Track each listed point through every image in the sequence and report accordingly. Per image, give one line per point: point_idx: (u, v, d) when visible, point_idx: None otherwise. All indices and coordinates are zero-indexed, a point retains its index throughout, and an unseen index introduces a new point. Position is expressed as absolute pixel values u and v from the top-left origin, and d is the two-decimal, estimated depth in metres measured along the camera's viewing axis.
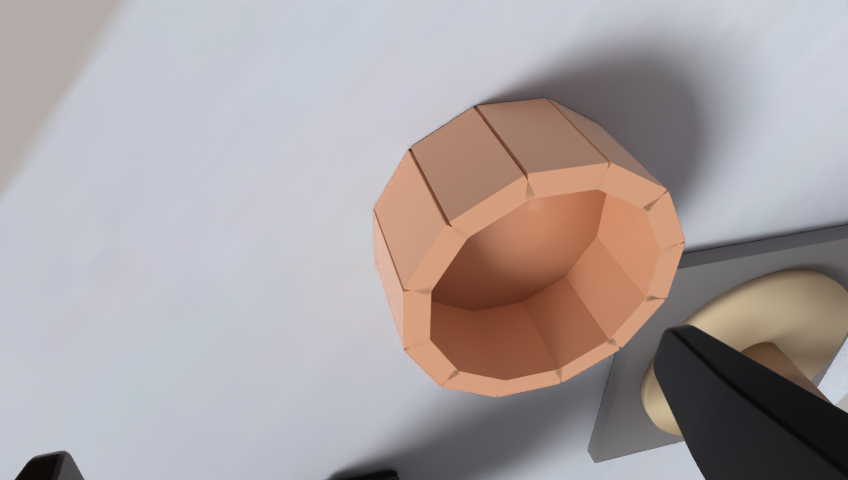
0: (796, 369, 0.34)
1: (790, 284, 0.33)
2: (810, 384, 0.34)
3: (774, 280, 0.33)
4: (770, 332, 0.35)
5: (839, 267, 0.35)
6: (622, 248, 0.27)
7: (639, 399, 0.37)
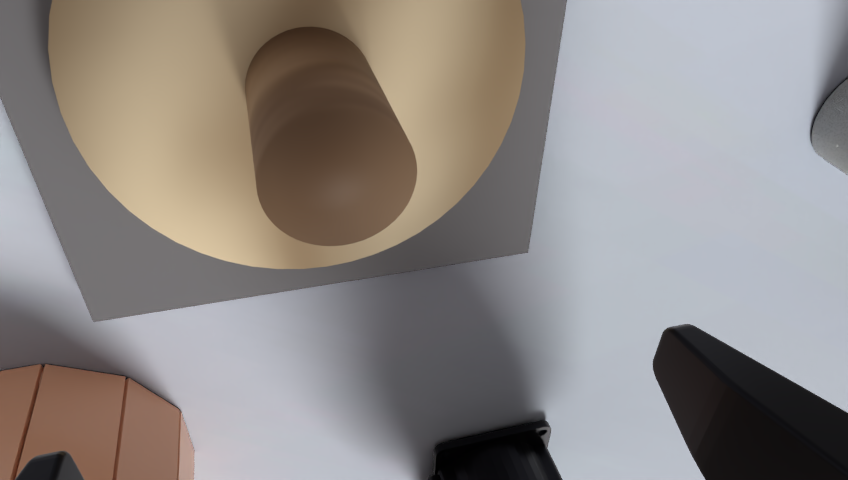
0: (252, 100, 0.16)
1: (73, 106, 0.17)
2: (254, 121, 0.15)
3: (73, 134, 0.17)
4: (214, 84, 0.17)
5: None
6: None
7: None
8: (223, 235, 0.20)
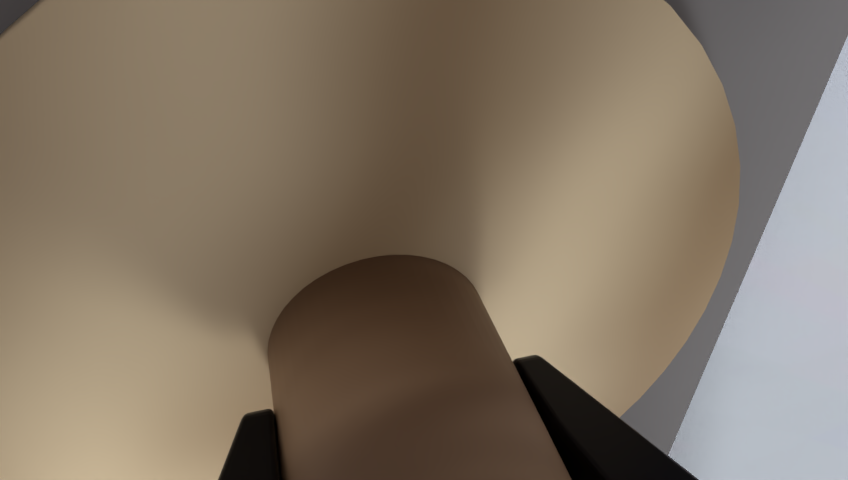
0: (287, 438, 0.08)
1: None
2: None
3: None
4: (214, 354, 0.10)
5: None
6: None
7: None
8: None
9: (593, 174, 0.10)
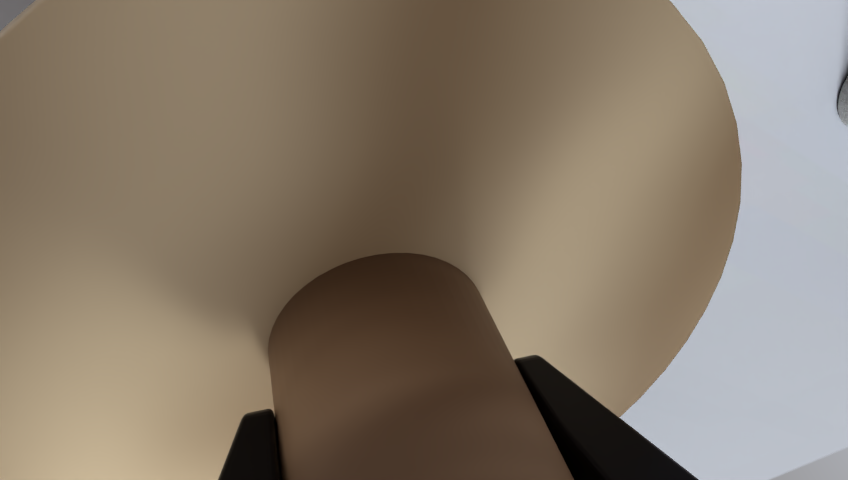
0: (287, 436, 0.08)
1: None
2: None
3: None
4: (215, 351, 0.10)
5: None
6: None
7: None
8: None
9: (594, 173, 0.09)
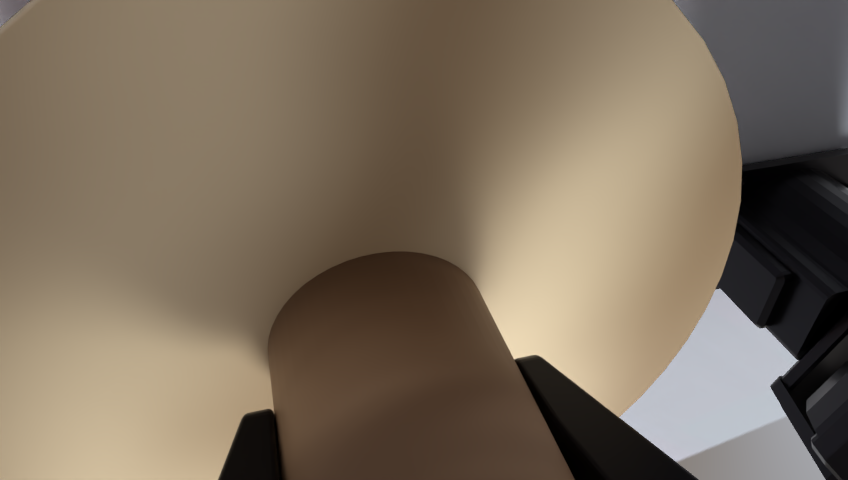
0: (287, 435, 0.08)
1: None
2: None
3: None
4: (214, 350, 0.10)
5: None
6: None
7: None
8: None
9: (595, 171, 0.09)
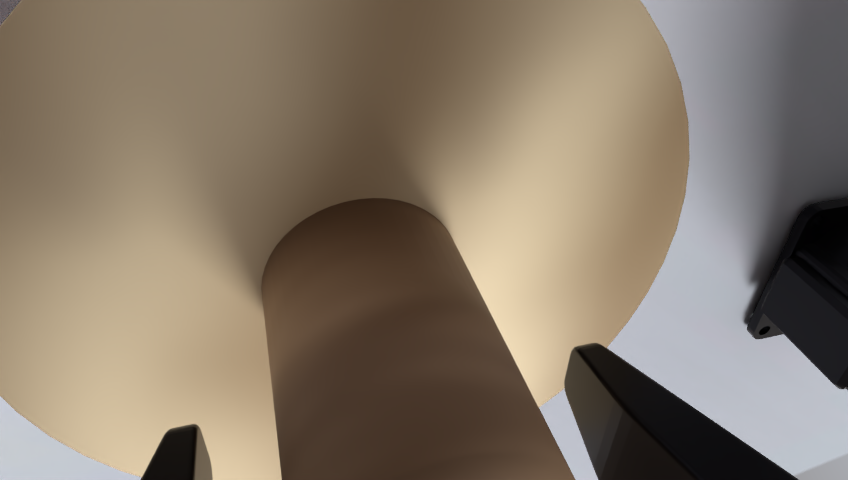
0: (277, 350, 0.09)
1: None
2: (283, 412, 0.08)
3: None
4: (213, 287, 0.11)
5: None
6: None
7: None
8: (227, 466, 0.14)
9: (554, 127, 0.11)
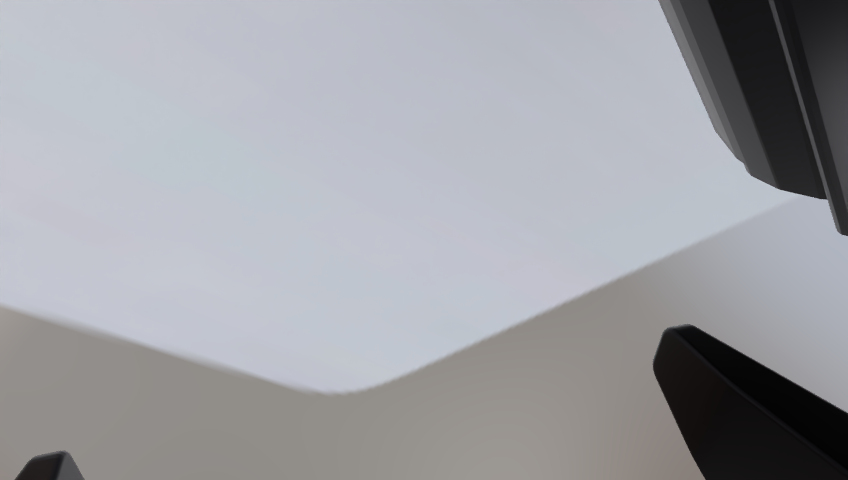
0: None
1: None
2: None
3: None
4: None
5: None
6: None
7: None
8: None
9: None
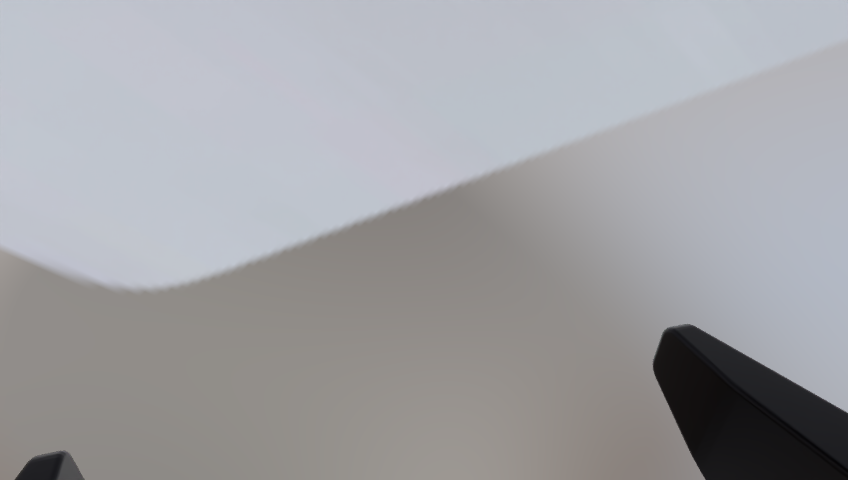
0: None
1: None
2: None
3: None
4: None
5: None
6: None
7: None
8: None
9: None
